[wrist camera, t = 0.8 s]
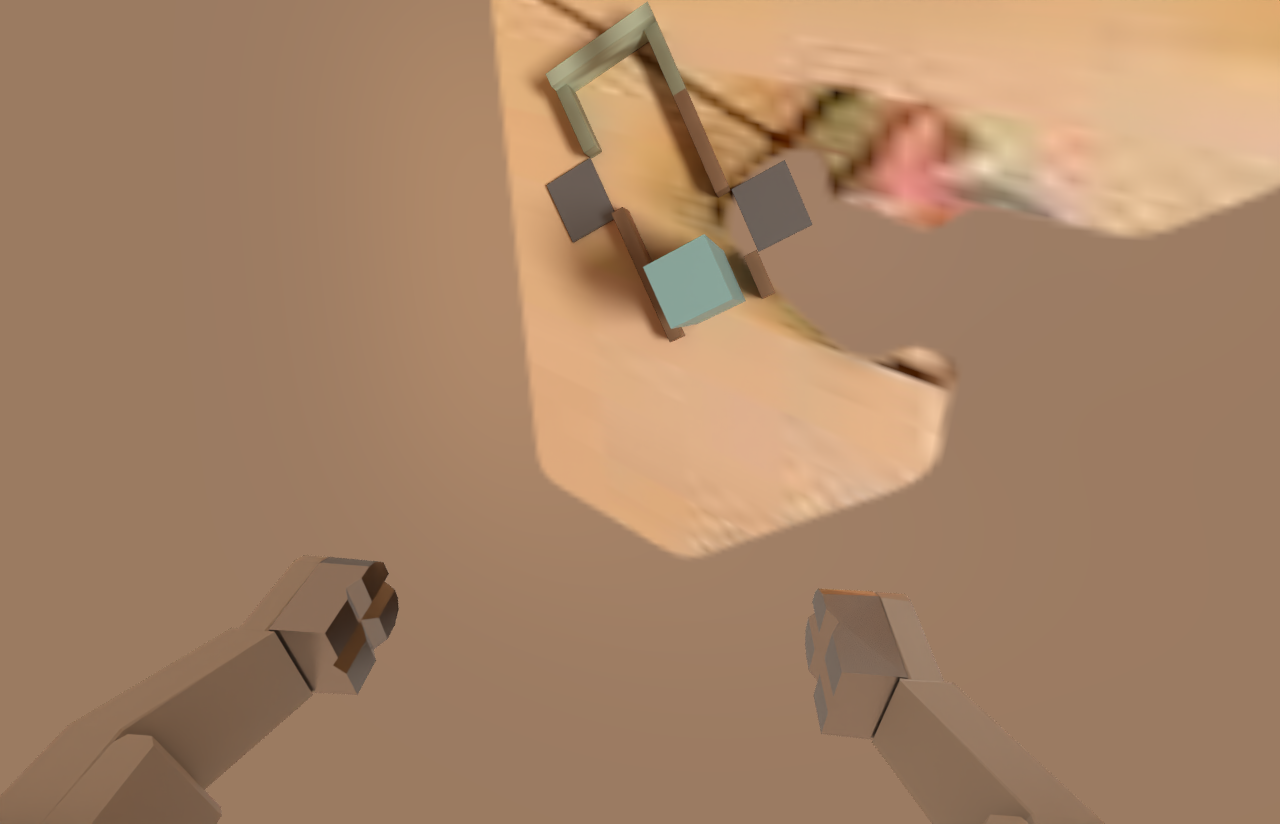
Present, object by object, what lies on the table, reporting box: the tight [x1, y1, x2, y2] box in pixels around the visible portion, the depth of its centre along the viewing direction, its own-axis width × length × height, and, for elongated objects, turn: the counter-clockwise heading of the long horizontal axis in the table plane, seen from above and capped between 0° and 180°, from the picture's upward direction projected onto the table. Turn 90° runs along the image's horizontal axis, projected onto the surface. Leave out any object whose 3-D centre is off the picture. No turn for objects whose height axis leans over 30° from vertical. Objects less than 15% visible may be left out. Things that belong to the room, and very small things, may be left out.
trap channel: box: [546, 1, 812, 342], centre depth 48 cm, size 21×26×3 cm
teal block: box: [643, 235, 745, 329], centre depth 45 cm, size 5×5×12 cm
